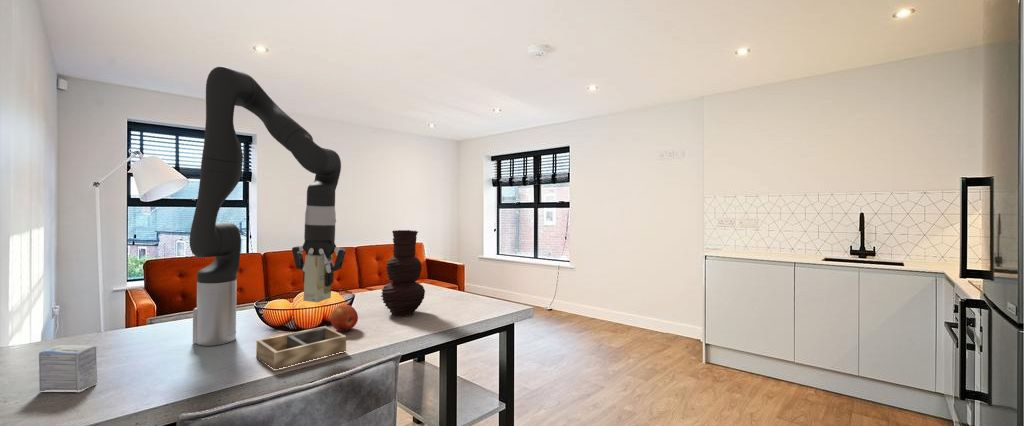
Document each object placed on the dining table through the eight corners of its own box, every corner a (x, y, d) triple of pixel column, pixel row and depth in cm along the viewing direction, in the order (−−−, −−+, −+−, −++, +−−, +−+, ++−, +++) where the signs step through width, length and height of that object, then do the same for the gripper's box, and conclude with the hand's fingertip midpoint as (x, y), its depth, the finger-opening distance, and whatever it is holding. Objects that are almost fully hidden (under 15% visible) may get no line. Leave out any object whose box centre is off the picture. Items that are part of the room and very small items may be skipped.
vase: (380, 308, 161) (382, 228, 160) (421, 307, 166) (424, 229, 165) (380, 320, 147) (382, 232, 145) (426, 318, 151) (429, 233, 150)
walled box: (274, 371, 103) (275, 352, 103) (256, 357, 111) (256, 340, 111) (345, 352, 117) (346, 336, 117) (324, 341, 125) (325, 326, 125)
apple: (354, 325, 141) (354, 301, 141) (360, 332, 134) (361, 307, 134) (327, 328, 137) (328, 303, 136) (333, 336, 130) (333, 310, 129)
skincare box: (317, 303, 113) (319, 256, 113) (302, 301, 114) (304, 255, 114) (331, 297, 120) (333, 253, 119) (317, 296, 121) (319, 252, 120)
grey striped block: (98, 384, 93) (97, 345, 93) (77, 394, 89) (77, 352, 89) (60, 383, 93) (60, 344, 93) (38, 393, 89) (37, 351, 88)
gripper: (286, 222, 112) (284, 287, 113) (341, 225, 112) (339, 290, 113) (299, 220, 120) (298, 281, 120) (352, 223, 120) (349, 283, 121)
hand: (318, 285), depth 117 cm, fingers closed on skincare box, 5 cm apart
